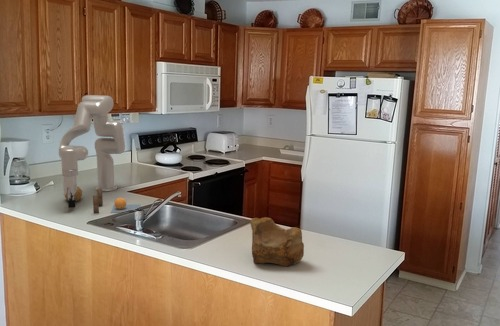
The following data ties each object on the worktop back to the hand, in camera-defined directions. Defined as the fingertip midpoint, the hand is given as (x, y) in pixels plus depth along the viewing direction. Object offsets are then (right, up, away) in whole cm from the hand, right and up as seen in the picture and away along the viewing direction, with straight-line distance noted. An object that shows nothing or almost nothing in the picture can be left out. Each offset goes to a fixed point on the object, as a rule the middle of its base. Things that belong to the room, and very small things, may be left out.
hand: (72, 207), depth 241 cm
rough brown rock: (+99, -15, -61) cm, 117 cm away
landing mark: (+27, -1, +4) cm, 27 cm away
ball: (+24, +2, +3) cm, 24 cm away
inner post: (+12, 0, +9) cm, 15 cm away
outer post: (+14, -3, -4) cm, 15 cm away
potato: (-6, +2, +18) cm, 19 cm away
